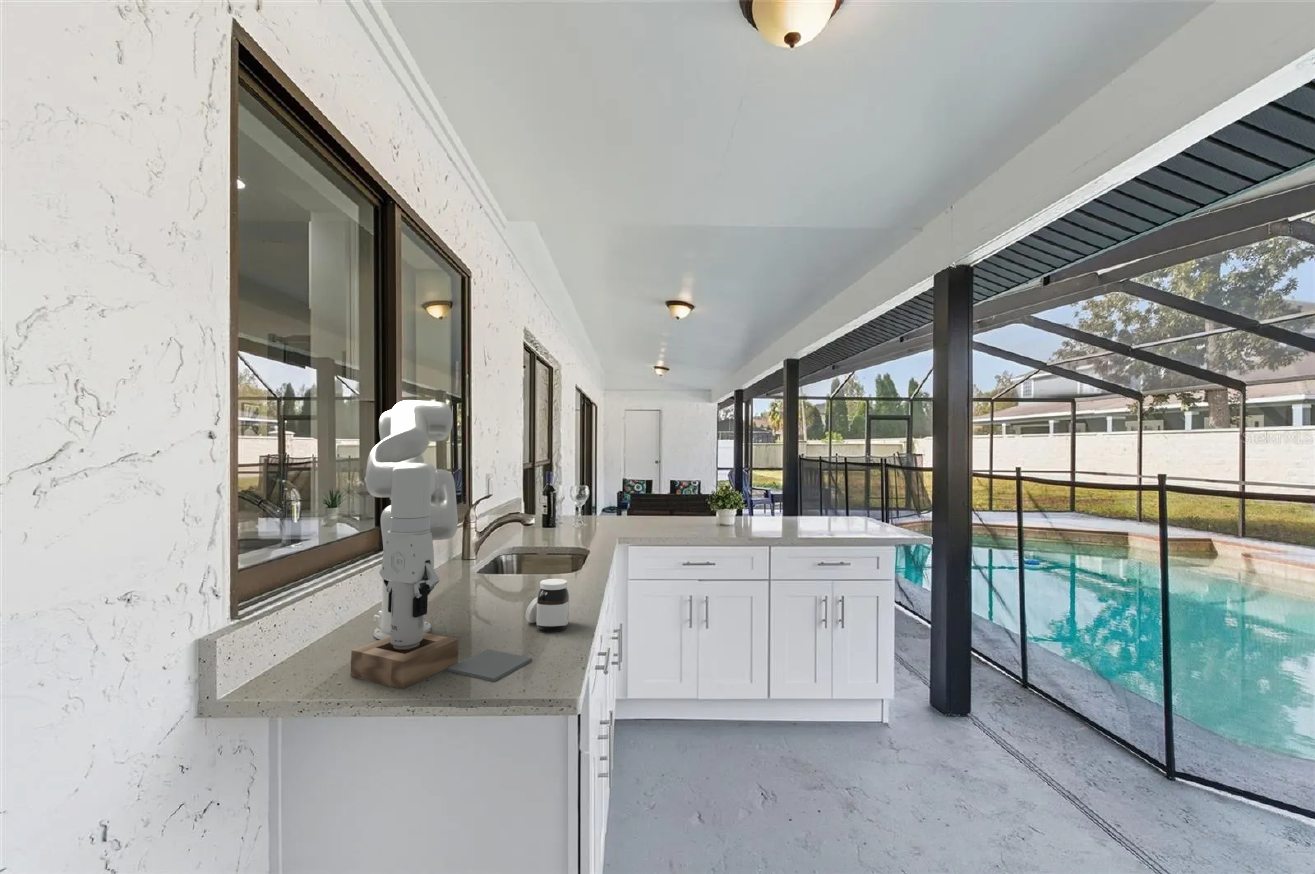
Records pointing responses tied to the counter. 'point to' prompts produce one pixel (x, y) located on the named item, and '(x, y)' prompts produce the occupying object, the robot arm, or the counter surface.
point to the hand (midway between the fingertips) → (407, 612)
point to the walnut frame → (403, 660)
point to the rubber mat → (489, 665)
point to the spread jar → (550, 606)
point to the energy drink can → (404, 617)
